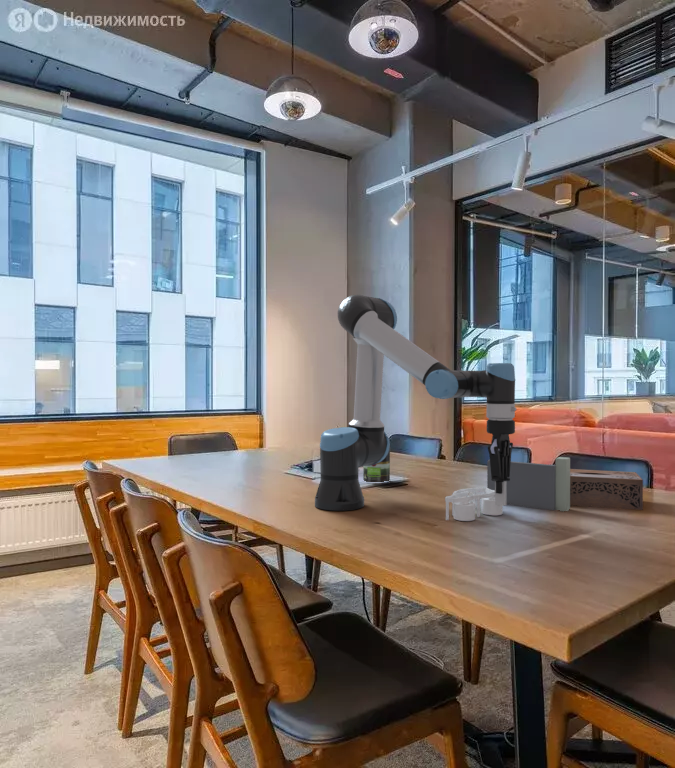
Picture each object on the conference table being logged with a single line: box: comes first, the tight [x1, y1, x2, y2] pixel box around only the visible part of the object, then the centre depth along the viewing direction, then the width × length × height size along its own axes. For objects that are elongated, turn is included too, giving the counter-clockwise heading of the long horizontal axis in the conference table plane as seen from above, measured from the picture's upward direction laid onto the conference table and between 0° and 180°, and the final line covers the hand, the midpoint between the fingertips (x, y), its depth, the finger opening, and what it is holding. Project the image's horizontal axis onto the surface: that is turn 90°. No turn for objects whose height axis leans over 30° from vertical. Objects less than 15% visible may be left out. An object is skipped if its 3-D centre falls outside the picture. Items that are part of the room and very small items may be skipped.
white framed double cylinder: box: [444, 487, 504, 522], centre depth 161 cm, size 20×11×7 cm, turn 124°
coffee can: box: [362, 447, 391, 482], centre depth 218 cm, size 10×10×14 cm
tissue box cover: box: [570, 468, 644, 511], centre depth 179 cm, size 26×14×10 cm, turn 70°
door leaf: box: [486, 456, 571, 512], centre depth 173 cm, size 9×23×16 cm, turn 54°
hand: (500, 504), depth 159 cm, fingers closed
